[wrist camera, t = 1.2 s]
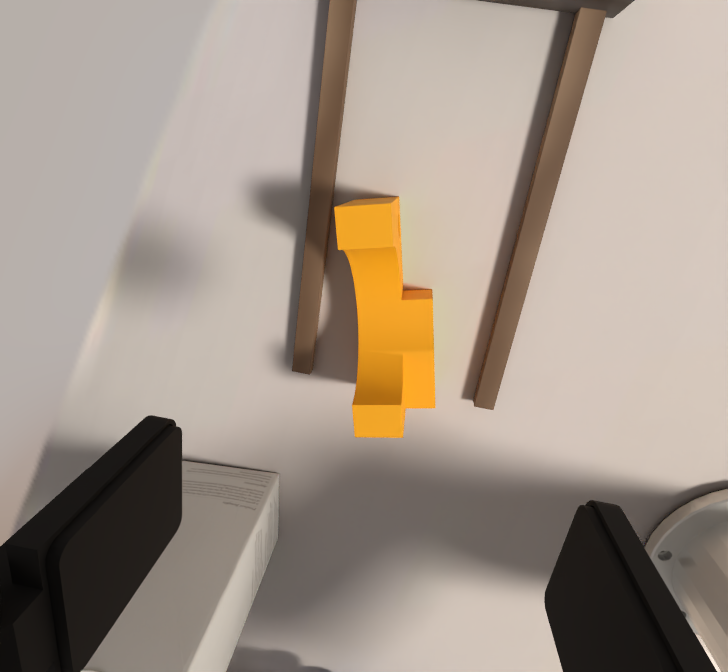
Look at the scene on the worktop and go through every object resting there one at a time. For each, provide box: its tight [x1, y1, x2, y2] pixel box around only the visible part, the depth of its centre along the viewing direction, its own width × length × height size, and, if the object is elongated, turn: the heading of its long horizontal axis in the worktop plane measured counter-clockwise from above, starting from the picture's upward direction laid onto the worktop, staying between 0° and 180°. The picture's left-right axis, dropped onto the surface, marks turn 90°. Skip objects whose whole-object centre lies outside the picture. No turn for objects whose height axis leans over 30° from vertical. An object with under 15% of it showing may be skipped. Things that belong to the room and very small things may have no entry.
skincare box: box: [81, 461, 279, 672], centre depth 28 cm, size 8×7×16 cm
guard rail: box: [292, 0, 634, 410], centre depth 24 cm, size 14×24×4 cm, turn 172°
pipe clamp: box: [334, 197, 435, 438], centre depth 25 cm, size 12×4×6 cm, turn 4°
